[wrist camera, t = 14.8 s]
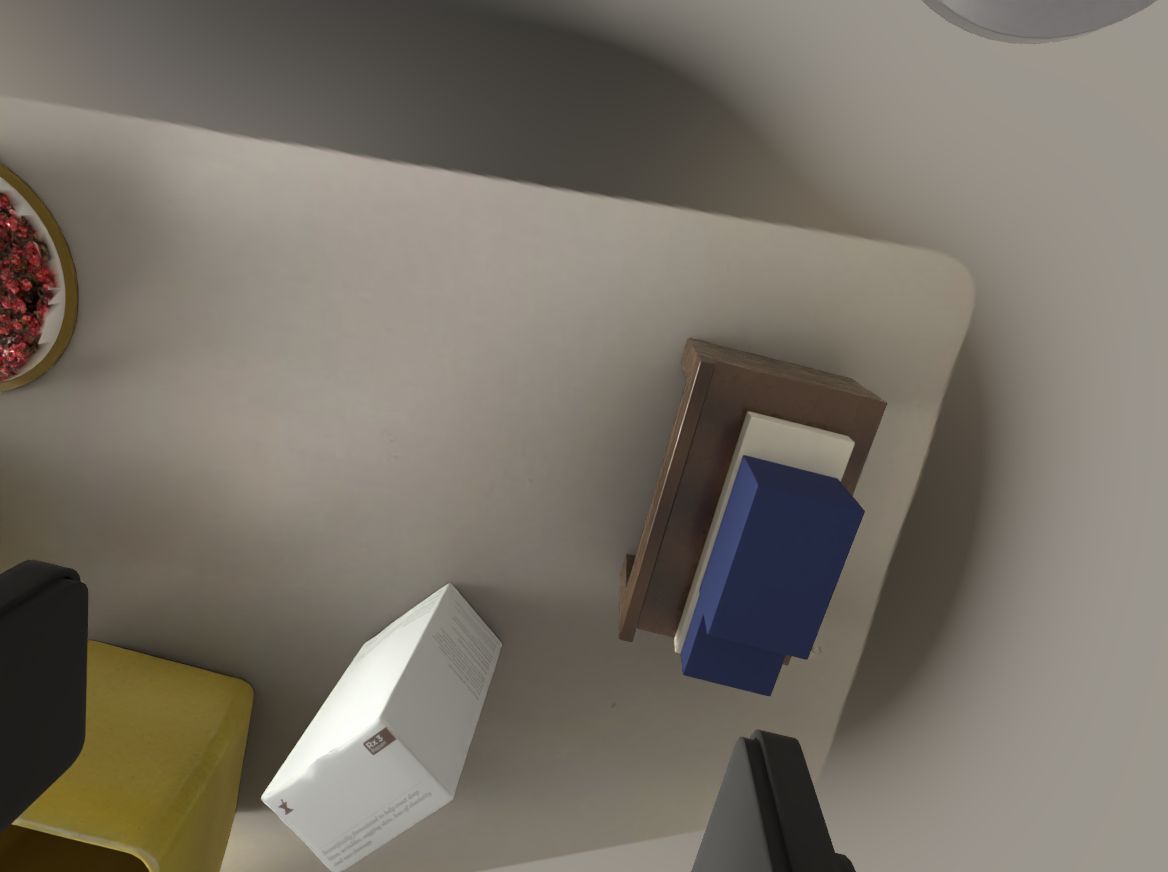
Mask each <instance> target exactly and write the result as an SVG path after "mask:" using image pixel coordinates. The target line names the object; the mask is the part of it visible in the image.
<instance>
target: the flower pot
mask: <svg viewBox="0 0 1168 872" xmlns="http://www.w3.org/2000/svg"><path fill="white" fill-rule="evenodd" d="M253 699H254V692H253V689H252V687H251V686H250V685H249V684H248V683H247V682H245V681H244V680H241V679H238V678H234V677H230V676H226V675H222V674H218V673H214V672H211V671H207V670H203V669H200V668H196V667H192V666H188V665H184V664H180V663H177V662H173V661H169V660H165V659H161V658H157V657H153V656H150V655H146V654H142V653H138V652H135V651H131V650H127V649H123V648H119V647H116V646H112V645H108V644H104V643H100V642H97V641H90V640H87V689H86V736H85V742H84V745H83V748H82V750H81V752H80V754H79V756H78V758H77V759H76V761H75V762H74V763H73V764H72V766H71V767H70V768H69V769H68V770H67V771H66V772H65V773H64V774H63V775H62V776H61V777H59V778H58V779H57V780H56V781H55V782H54V783H53V784H52V785H51V786H50V787H49V788H48V789H47V790H46V791H45V792H44V793H43V794H42V795H41V796H40V797H39V798H38V799H37V800H36V801H35V802H33V803H32V804H31V805H30V806H29V807H28V808H27V809H26V810H25V811H24V812H23V813H22V814H21V815H20V816H19V817H18V818H17V819H16V820H15V821H14V822H13V823H12V824H11V825H10V826H9V827H8V828H6V829H5V830H4V831H3V832H2V833H1V834H0V872H220V868H221V864H222V861H223V857H224V854H225V850H226V846H227V843H228V839H229V836H230V832H231V828H232V823H233V819H234V815H235V810H236V804H237V798H238V792H239V785H240V779H241V773H242V766H243V760H244V754H245V748H246V742H247V735H248V729H249V723H250V717H251V711H252V705H253Z"/></svg>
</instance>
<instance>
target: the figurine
mask: <svg viewBox="0 0 1168 872" xmlns="http://www.w3.org/2000/svg"><path fill="white" fill-rule="evenodd" d="M77 308H78V288H77V279H76V273H75V268H74V264H73V260H72V257H71V254H70V251H69V248H68V246H67V243H66V241H65V239H64V236H63V234H62V232H61V230H60V228H59V227H58V225H57V223H56V221H55V220H54V218H53V216H52V215H51V213H50V212H49V210H48V209H47V208H46V206H45V205H44V203H43V202H42V201H41V200H40V199H39V197H38V196H37V195H36V194H35V193H34V192H33V191H32V190H31V188H30V187H29V186H28V185H27V184H26V183H24V182H23V181H22V180H21V179H20V178H19V177H18V176H17V175H15V174H14V173H13V172H12V171H10V170H9V169H8V168H6V167H5V166H4V165H2V164H0V392H3V391H7V390H12V389H15V388H18V387H21V386H24V385H26V384H29V383H30V382H32V381H34V380H36V379H38V378H39V377H41V376H42V375H43V374H45V373H46V372H47V371H48V370H49V369H50V368H51V367H52V366H53V365H54V364H55V363H56V362H57V361H58V359H59V358H60V357H61V355H62V354H63V352H64V351H65V349H66V347H67V345H68V343H69V341H70V338H71V336H72V333H73V330H74V326H75V322H76V316H77Z"/></svg>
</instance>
